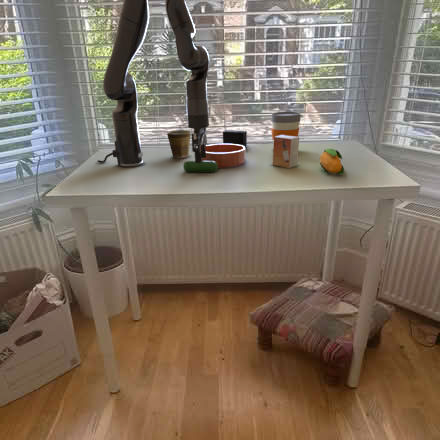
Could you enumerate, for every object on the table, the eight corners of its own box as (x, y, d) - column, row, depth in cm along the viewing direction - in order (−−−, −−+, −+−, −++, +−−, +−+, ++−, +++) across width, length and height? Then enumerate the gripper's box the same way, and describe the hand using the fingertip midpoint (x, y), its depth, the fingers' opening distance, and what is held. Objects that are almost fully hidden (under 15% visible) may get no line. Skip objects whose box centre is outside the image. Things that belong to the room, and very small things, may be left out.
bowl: (196, 167, 155) (195, 153, 152) (205, 157, 170) (204, 143, 167) (242, 168, 152) (242, 153, 149) (247, 157, 167) (247, 143, 165)
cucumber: (182, 173, 149) (181, 162, 147) (185, 170, 152) (184, 159, 150) (216, 173, 147) (216, 162, 145) (218, 170, 150) (218, 159, 148)
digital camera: (247, 146, 187) (247, 130, 184) (243, 148, 183) (243, 132, 180) (227, 145, 191) (227, 129, 188) (223, 147, 187) (222, 131, 183)
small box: (272, 165, 155) (273, 136, 149) (280, 162, 158) (281, 134, 153) (289, 168, 150) (291, 138, 144) (297, 165, 153) (299, 136, 148)
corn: (338, 144, 147) (351, 156, 130) (337, 165, 151) (349, 179, 134) (317, 146, 148) (328, 158, 131) (317, 166, 152) (327, 181, 135)
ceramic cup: (196, 156, 171) (195, 132, 166) (176, 160, 167) (174, 135, 162) (181, 152, 181) (179, 128, 176) (162, 155, 176) (159, 131, 171)
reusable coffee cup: (264, 151, 176) (265, 114, 168) (278, 146, 184) (279, 111, 177) (290, 154, 169) (292, 116, 162) (303, 149, 178) (305, 112, 170)
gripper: (191, 110, 146) (195, 156, 154) (182, 115, 134) (186, 165, 142) (211, 109, 144) (214, 156, 153) (204, 115, 132) (207, 165, 141)
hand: (200, 160), depth 147 cm, fingers open, 8 cm apart
